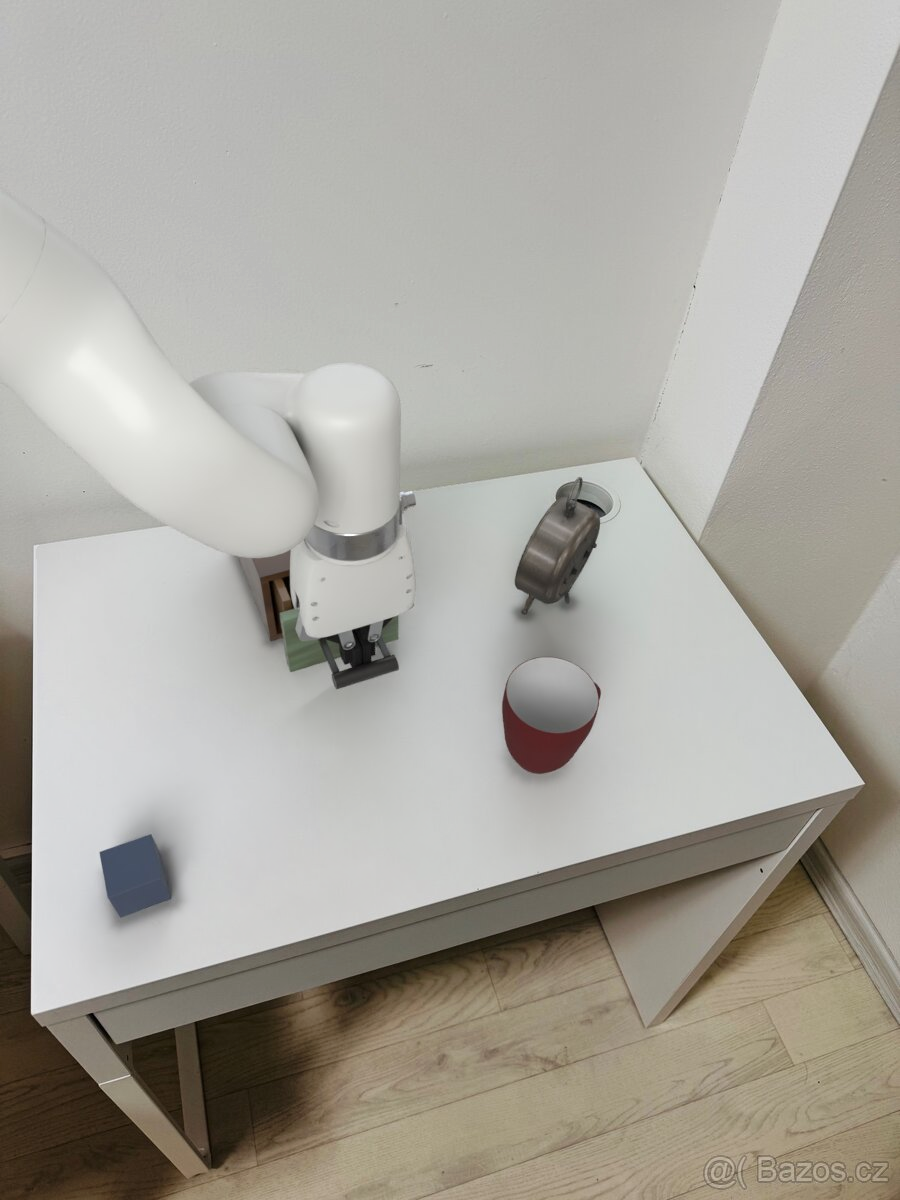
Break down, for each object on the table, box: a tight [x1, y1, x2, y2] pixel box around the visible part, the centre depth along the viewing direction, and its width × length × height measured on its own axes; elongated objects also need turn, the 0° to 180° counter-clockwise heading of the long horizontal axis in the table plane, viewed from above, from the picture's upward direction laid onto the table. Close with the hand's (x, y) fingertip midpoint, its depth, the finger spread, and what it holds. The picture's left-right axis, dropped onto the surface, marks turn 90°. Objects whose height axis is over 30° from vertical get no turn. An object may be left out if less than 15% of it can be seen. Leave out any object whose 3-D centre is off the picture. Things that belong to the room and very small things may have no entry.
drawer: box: [269, 576, 400, 690], centre depth 83 cm, size 20×11×8 cm, turn 24°
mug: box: [501, 656, 602, 775], centre depth 75 cm, size 10×8×10 cm
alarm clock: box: [514, 476, 601, 616], centre depth 86 cm, size 11×5×16 cm, turn 147°
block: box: [99, 833, 172, 918], centre depth 67 cm, size 4×4×4 cm
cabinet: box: [237, 550, 291, 642], centre depth 88 cm, size 15×13×10 cm
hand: (357, 661), depth 79 cm, fingers closed
